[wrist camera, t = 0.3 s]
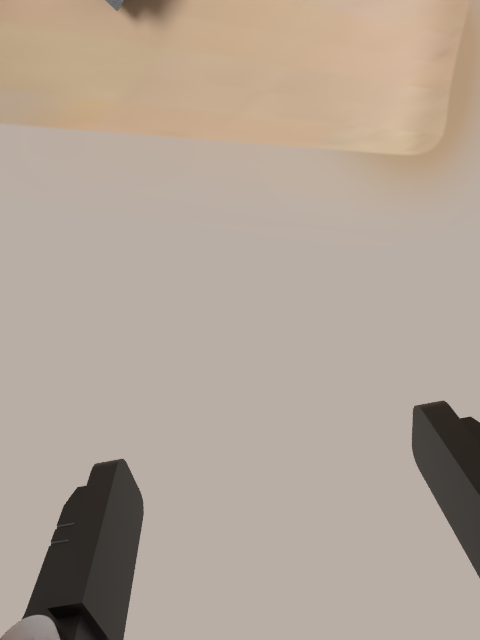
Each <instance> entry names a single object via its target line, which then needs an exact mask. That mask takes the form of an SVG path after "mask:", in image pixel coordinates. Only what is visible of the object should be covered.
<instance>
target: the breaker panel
mask: <svg viewBox="0 0 480 640" xmlns="http://www.w3.org/2000/svg"><path fill="white" fill-rule="evenodd" d="M106 1H107V2H108V3H109V4H110V5H111V6H112V7H113V8H114V9H115V10H117V11H118V10H119V8H120V6H121V5H122V3H123V1H124V0H106Z"/></svg>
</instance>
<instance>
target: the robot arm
mask: <svg viewBox="0 0 480 640" xmlns="http://www.w3.org/2000/svg"><path fill="white" fill-rule="evenodd" d="M412 449H413V455H414V458H415V461H416V464H417V466H418V468H419V470H420V472H421V474H422V476H423V477H424V479H425V481H426V483H427V484H428V486H429V488H430V490H431V492H432V493H433V495H434V497H435V499H436V501H437V502H438V504H439V506H440V508H441V510H442V511H443V513H444V515H445V517H446V518H447V520H448V522H449V524H450V526H451V527H452V529H453V531H454V533H455V535H456V536H457V538H458V540H459V542H460V544H461V545H462V547H463V549H464V550H465V552H466V554H467V556H468V558H469V560H470V561H471V563H472V565H473V567H474V569H475V570H476V572H477V574H478V576H479V578H480V423H479V422H478V421H476V420H475V419H473V418H472V417H467V418H461V419H460V418H459V417H458V416H457V415H456V413H455V412H454V411H453V410H452V408H451V407H450V406H449V404H447V402H445V401H439V402H433V403H428V404H422V405H417V406H414V409H413V428H412ZM142 521H143V499H142V495H141V493H140V490H139V488H138V486H137V484H136V482H135V480H134V478H133V476H132V473H131V471H130V469H129V467H128V465H127V463H126V461H125V460H124V459H119V460H114V461H109V462H102V463H97V464H95V465H94V466H93V468H92V471H91V473H90V476H89V480H88V483H87V486H83V487H77V489H76V490H75V491H74V493H73V494H72V495H71V497H70V498H69V500H68V501H67V502H66V504H65V505H64V507H63V510H62V512H61V515H60V518H59V521H58V524H57V529H56V530H55V532H54V535H53V537H52V540H51V546H49V548H48V551H47V554H46V557H45V559H44V562H43V565H42V568H41V571H40V574H39V576H38V579H37V582H36V585H35V587H34V590H33V593H32V595H31V598H30V601H29V604H28V607H27V609H26V612H25V614H24V616H23V618H22V620H21V621H19V622H18V623H16V624H15V625H13V626H12V627H11V628H10V629H9V630H8V631H7V632H6V633H5V634H4V635H3V636H2V637H1V638H0V640H123V638H124V632H125V625H126V619H127V613H128V607H129V601H130V595H131V588H132V582H133V576H134V569H135V564H136V557H137V551H138V544H139V539H140V533H141V527H142Z"/></svg>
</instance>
